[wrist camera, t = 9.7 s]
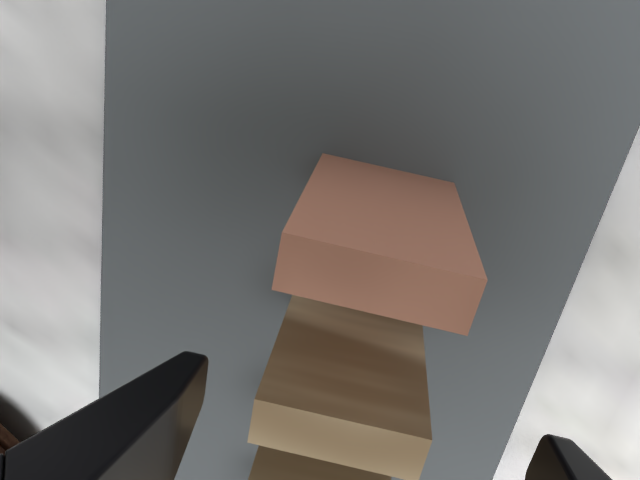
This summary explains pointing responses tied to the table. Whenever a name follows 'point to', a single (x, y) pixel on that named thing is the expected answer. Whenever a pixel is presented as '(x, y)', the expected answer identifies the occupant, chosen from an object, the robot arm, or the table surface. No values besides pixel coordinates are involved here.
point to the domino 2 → (346, 390)
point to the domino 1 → (382, 246)
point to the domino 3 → (303, 468)
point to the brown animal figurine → (6, 440)
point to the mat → (360, 145)
